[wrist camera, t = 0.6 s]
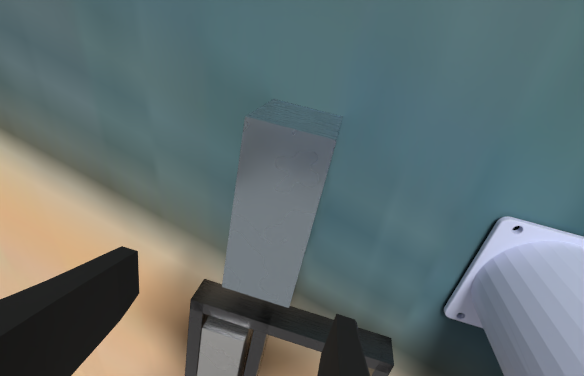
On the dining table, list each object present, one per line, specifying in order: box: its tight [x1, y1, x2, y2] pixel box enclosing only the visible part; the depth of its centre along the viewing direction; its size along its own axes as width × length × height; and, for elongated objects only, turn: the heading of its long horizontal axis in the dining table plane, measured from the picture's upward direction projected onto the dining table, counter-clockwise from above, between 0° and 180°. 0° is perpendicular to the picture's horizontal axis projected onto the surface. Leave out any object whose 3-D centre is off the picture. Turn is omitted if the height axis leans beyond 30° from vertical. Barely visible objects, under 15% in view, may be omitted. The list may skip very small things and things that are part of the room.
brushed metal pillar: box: [222, 99, 343, 308], centre depth 17 cm, size 4×10×5 cm, turn 168°
